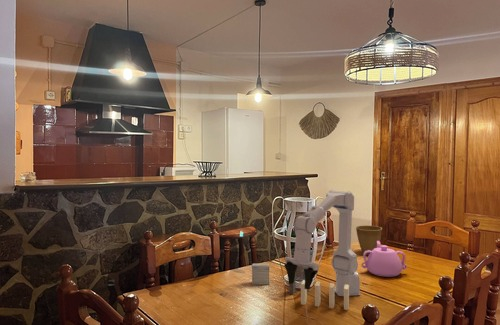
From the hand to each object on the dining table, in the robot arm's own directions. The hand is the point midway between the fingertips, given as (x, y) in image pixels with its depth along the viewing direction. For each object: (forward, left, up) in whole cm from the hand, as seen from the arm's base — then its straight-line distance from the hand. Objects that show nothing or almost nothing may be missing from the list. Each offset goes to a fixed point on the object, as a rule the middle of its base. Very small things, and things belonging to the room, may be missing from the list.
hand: (299, 286), depth 133 cm
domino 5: (-20, -4, -11) cm, 23 cm away
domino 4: (-15, -6, -11) cm, 19 cm away
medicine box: (+9, -35, -11) cm, 38 cm away
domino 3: (-10, -9, -11) cm, 17 cm away
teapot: (-55, -44, -11) cm, 71 cm away
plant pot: (-63, -77, -11) cm, 100 cm away
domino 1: (-3, -22, -11) cm, 24 cm away
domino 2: (-5, -11, -11) cm, 16 cm away
